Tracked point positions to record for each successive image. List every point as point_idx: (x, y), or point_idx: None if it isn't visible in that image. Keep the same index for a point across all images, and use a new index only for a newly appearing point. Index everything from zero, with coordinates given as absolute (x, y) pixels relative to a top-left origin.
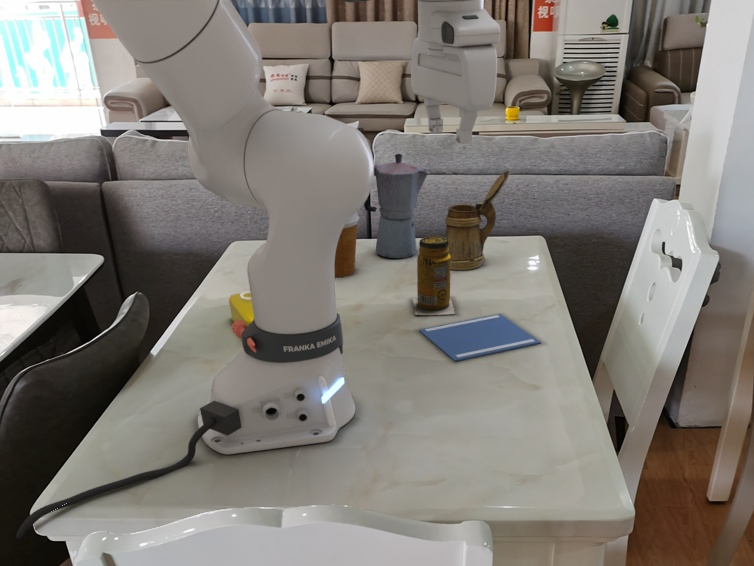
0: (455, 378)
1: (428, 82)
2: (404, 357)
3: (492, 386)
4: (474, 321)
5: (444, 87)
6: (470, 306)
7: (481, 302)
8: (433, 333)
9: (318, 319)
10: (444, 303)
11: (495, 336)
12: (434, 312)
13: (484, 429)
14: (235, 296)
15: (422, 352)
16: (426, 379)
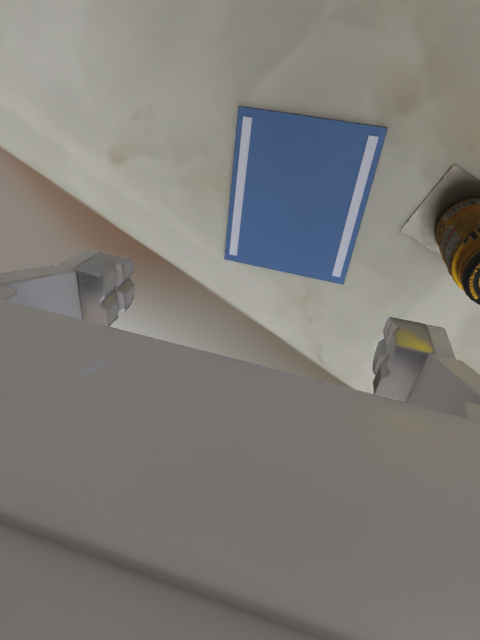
0: (188, 67)
1: (392, 491)
2: (307, 27)
3: (141, 105)
4: (344, 232)
5: (37, 383)
6: (409, 274)
7: (409, 298)
8: (353, 141)
9: None
10: (435, 233)
11: (276, 221)
12: (435, 205)
13: (34, 3)
14: None
15: (304, 75)
16: (207, 14)
